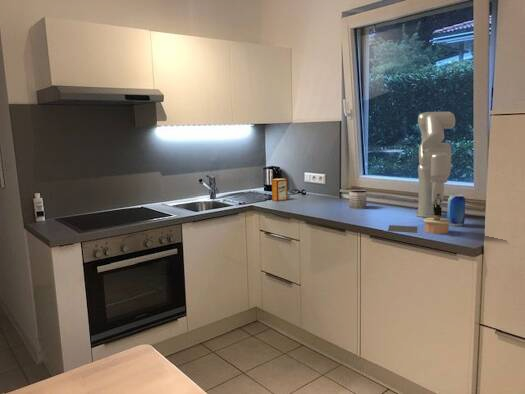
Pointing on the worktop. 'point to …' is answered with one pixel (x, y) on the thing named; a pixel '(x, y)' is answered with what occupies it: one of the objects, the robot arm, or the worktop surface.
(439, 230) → the bowl
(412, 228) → the mat
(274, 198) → the baking soda box
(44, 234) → the worktop surface
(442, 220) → the lid
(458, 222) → the beer can
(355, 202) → the ribbed plant pot
